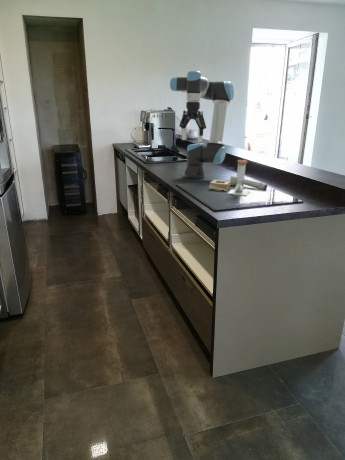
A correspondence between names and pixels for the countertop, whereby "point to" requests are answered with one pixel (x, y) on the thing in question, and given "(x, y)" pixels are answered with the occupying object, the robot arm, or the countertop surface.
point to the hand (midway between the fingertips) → (191, 140)
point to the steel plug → (240, 175)
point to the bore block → (220, 185)
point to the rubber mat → (238, 192)
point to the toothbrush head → (249, 183)
